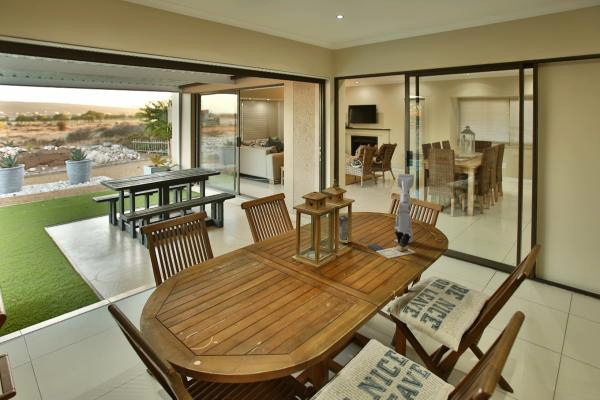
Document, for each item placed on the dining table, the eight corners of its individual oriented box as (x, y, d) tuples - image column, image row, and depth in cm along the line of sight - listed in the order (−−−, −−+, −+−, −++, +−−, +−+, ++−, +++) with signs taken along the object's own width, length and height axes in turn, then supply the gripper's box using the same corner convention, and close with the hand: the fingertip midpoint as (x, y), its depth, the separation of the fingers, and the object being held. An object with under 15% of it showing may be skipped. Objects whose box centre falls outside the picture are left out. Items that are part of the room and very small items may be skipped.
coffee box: (335, 239, 240) (336, 216, 236) (344, 238, 242) (345, 215, 238) (341, 244, 232) (341, 220, 228) (350, 242, 233) (350, 219, 230)
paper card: (402, 246, 226) (402, 245, 225) (415, 252, 215) (415, 252, 215) (375, 251, 218) (375, 250, 218) (388, 258, 207) (388, 257, 207)
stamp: (403, 248, 221) (404, 237, 219) (407, 250, 217) (408, 239, 215) (396, 249, 219) (397, 238, 218) (400, 252, 215) (401, 240, 214)
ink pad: (376, 245, 228) (376, 243, 227) (383, 249, 222) (383, 247, 221) (367, 247, 225) (367, 245, 225) (373, 251, 219) (373, 248, 218)
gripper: (390, 220, 219) (389, 241, 222) (406, 226, 206) (405, 249, 209) (399, 218, 222) (398, 239, 225) (416, 225, 209) (414, 247, 212)
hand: (402, 244), depth 217 cm, fingers open, 5 cm apart
